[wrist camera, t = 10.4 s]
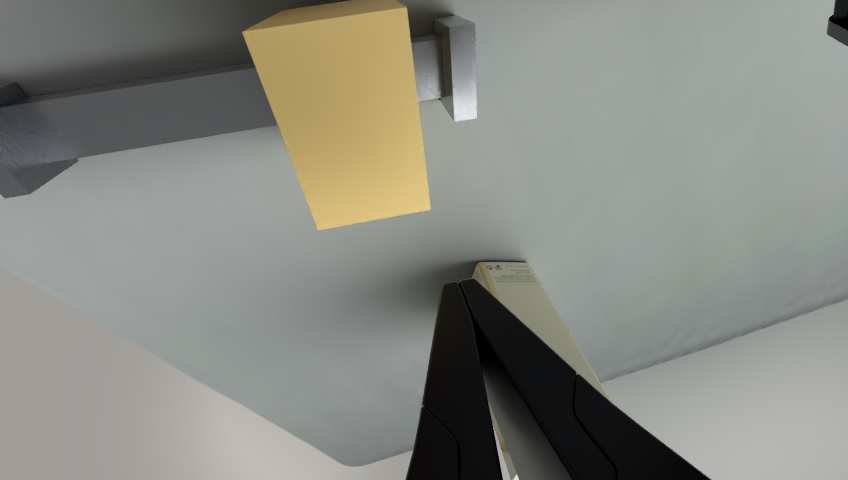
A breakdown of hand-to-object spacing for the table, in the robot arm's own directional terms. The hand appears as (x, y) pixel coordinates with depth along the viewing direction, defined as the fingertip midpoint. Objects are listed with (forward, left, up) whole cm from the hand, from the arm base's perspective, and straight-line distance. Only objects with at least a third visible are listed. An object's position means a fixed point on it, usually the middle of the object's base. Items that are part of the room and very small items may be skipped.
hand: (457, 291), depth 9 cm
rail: (+7, -3, -12) cm, 14 cm away
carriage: (+2, -3, -12) cm, 13 cm away
